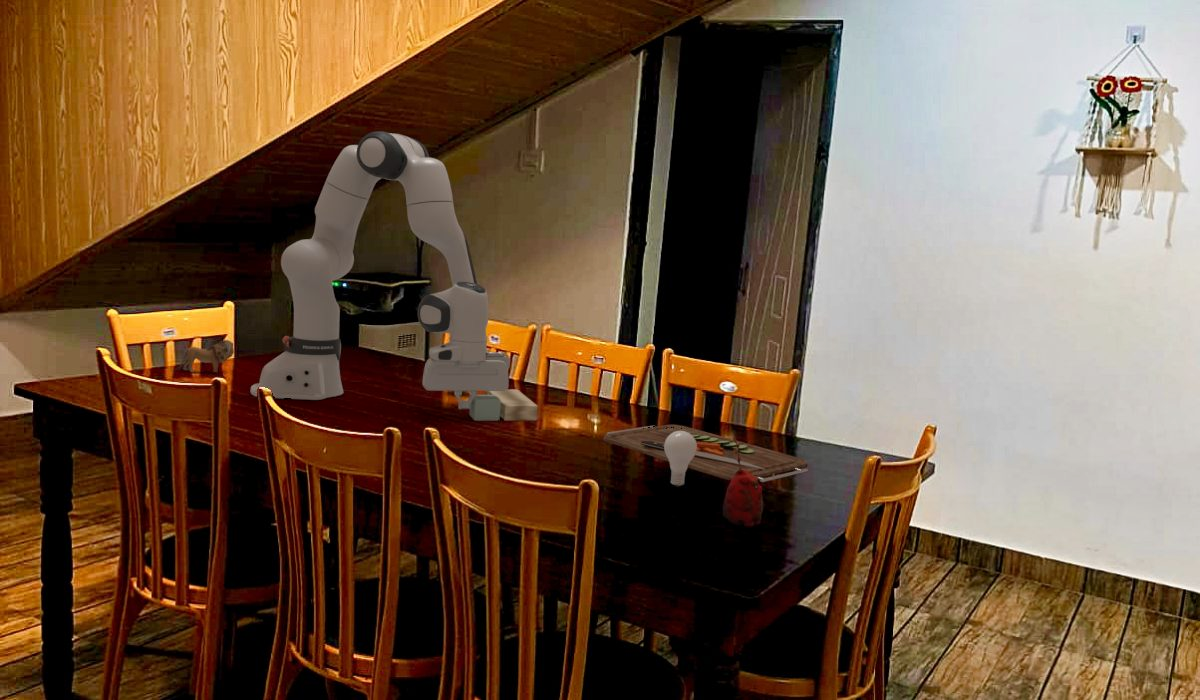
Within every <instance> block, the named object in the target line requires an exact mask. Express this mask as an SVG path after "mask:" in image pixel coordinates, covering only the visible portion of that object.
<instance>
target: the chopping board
mask: <svg viewBox="0 0 1200 700" xmlns="http://www.w3.org/2000/svg"><path fill="white" fill-rule="evenodd" d="M653 426H655V427H653ZM648 427H650V428H648ZM671 427H672V428H671ZM673 427H674V428H673ZM643 428H644V429H643ZM666 428H667V429H666ZM681 428H682V429H681ZM675 431H685V432H688V433H690V434H691V435H692V436H693V437H694V439H695V440H696V443H697V451H696V454H695V456H694V457H693V459H692V460H691V461H690V463H689V464H688V467H687V469H691V470H694V471H698V472H701V473H704V474H707V475H711V476H714V477H717V478H721V479H722V480H723V479H724V480H726V481H727V480H728V481H731V480H732V479H733V477H734V476H735V474H736V472H737V471H738V470H739V463H738V461H737V459H738V450H737V454H735V453H734V448H737V447H736V443H735V441H734V440H733V438H729V437H725V436H721V435H717V434H714V433H711V432H706V431H703V430H699V429H697V428H692V427H688V426H685V425H681V424H665V425H659V426H656V425H649V426H642V427H636V428H635V427H634V428H627V429H621V430H615V431H610V432H609V431H608V432H606V434H604V435H603V441H604V442H605V441H606V442H605V443H608V444H611V445H614V444H615V445H614V446H617V445H618V447H620V446H622V447H621V448H624V449H627V448H628V450H630V449H631V450H630V451H633V450H634V451H633V452H636V451H637V453H640V454H644V455H646V454H647V456H649V455H650V456H649V457H652V456H653V458H657V459H659V460H662V461H666V462H668V463H670V462H669V460H668V458H667V456H666V454H665V451H664V444H665V441H666V439H667V437H668V436H669V435H670V434H671V433H673V432H675ZM736 442H737V443H738V444H741V443H742V442H743V441H740V440H739V441H738V440H736ZM731 445H734V446H731ZM739 457H740V458H742V459H741V460H740V466H741V469H742V470H744V471H749V472H750V473H751V475H753V476H756V477H757V478H758V480H759V482H761V483H765V482H769V481H774V480H777V479H778V480H779V479H782V478H787V477H791V476H795V475H799V474H803V473H808V471H809V469H808V468H805V467H807V465H808V464H807V460H805V459H803V458H800V457H797V456H793V455H790V454H787V453H783V452H779V451H776V450H772V449H768V448H764V447H761V446H758V445H753V444H751V443H750V444H749V443H746V442H743V444H741V445H740V446H739ZM802 468H803V469H802ZM793 470H794V471H793ZM781 473H782V474H781ZM773 475H774V476H773Z"/></svg>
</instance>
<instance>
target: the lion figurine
mask: <svg viewBox="0 0 1200 700" xmlns="http://www.w3.org/2000/svg"><path fill="white" fill-rule="evenodd" d="M183 353H184V354H183V356H182V360H181V363H180V365H178V367H176V368H174V369H175V371H176V370H177V371H179V370H181V369H182V368H183V371H190V373H191V372H195V371H196V370H194V369H193V364H194V362H195V360H198V361H199V362H201V363H204V364H207V363H208V364H209V363H210V364H212V367H213V369H212V370H213V373H214V372H218V370H219V369H218V367H219V364H223V363H225V362H226V361H227V360H229V358H232V357H233V355H234V353H235V350H234V342H232V341H231V340H229V339H224V340H221V341H220V342H218V343H216V344H213V345H212V346H210V347H208V348H206V349H205V348H201V347H196V346H192V347H188V348H187V349H185V351H184V352H183ZM186 358H187V359H186ZM187 366H188V367H187ZM195 373H196V372H195Z"/></svg>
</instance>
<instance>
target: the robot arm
mask: <svg viewBox="0 0 1200 700" xmlns="http://www.w3.org/2000/svg"><path fill="white" fill-rule="evenodd" d="M381 179H385V180H389V181H398V182H399V183H400V184H401V186H403V189H404V192H405V200H406V201H405V202H406V203H405V204H406V211H407V219H408V224H409V226H410V230H411V231H412V233H413V234H414V235H415V236H416V237H417V238H418V239H419V240H420V241H422V242H424V243H427V244H429V245H431V246H432V247H434V248H435V249H437V250H438V251H439V252H441V253H442V255H443V256H444V258H445V259H446V262H447V267H448V270H449V275H450V280H451V284H452V287H450V288H447V289H446V290H442V291H439V292H435V293H430V294H427V295H425V296H423V298H422V299H421V300H420V302H419V304H418V306H417V318H418V319H417V320H418V322H419V324H420V325H421V327H422V329H423V330H425V331H426V332H428V333H431V334H449V339H448V340H449V342H446V343H443V344H439V345H434V346H432V347H430V348H429V351H428V353H429V354H428V355H429V357H430V358H428V359H427V360H426V362H425V365H424V368H423V376H422V386H423V388H424V389H425V390H426V391H429V392H430V391H433V392H434V391H435V392H436V391H438V392H439V391H440V392H442V391H445V392H452V391H454V393H453V394H454V396H455V398H456V399H457V401H458V402H457V403H458V404H457V405H458V410H470V409H471V402H472V401H473V400H474V398H475V397H476V395H477V392H487V391H505V390H506V389H509V371H508V370H509V369H510V366H511V358H510V356H509V355H508V354H506V353H505V352H502V351H498V352H494V351H487V346H488V345H487V344H488V337H487V327H488V324H489V296H488V295H489V294H488V292H487V289H486V288H485V287H484V286H482V285H480V284H478V281H477V277H476V273H475V269H474V264H473V263H474V262H473V259H472V255H471V251H470V246H469V243H468V239H467V236H466V234H465V232H464V230H462V228H461V226H460V225H459V224H460V223H459V222H458V219H457V215H456V212H455V206H454V200H453V199H454V198H453V191H452V187H451V182H450V178H449V174H448V171H447V169H446V166H445V164H444V162H442V161H441V160H439V159H437V158H434V157H430V155H429V152H428V150H427V148H426V147H425V146H424V144H422V142H420V141H418V140H417V139H415V138H412V137H409V136H406V135H403V134H401V133H390V132H387V131H372V132H369V133H368V134H366V135H364V136H363V137H362V138H361V139H360V140H359V142H358V144H350V145H347V146H345V147H344V148H343V149H342V150H341V151H340V153H339V154H338V156H337V158H336V160H335V161H334V163H333V165H332V166H331V169H330V171H329V172H328V175H327V177H326V179H325V182H324V185H323V186H322V190H321V192H320V195H319V197H318V200H317V203H316V205H315V207H314V214H315V223H314V224H315V225H314V232H313V235H312V237H311V238H309V239H307V238H306V239H300V240H297V241H295V242H294V243H292V244H291V245H289V246H287V247H286V248H285V250H284V251H283V253H281V254H282V255H281V257H280V258H281V259H280V266H281V271H282V272H283V274H284V275H285V277H287V280H288V282H289V286H290V291H291V296H292V297H291V298H292V302H293V335H292V336H289V335H285V336H284V337H282V339H281V340H282V343H283V344H284V352H282V353H281V354H279V355H277V357H275V358H273V359H272V360H271V361H269V362H267V363H266V364H265V365H264V366H263V368H262V370H261V373H260V378H259V383H254V384H253V385H251V387H250V394H251V395H252V396H254V397H256V398H258V397H257V389H258V387H265V388H268V389H270V390H271V391H272V393H273V396H274V397H275V398H274V399H284V398H291V399H292V400H310V401H319V400H324V399H327V398H332V397H337V396H341V395H343V394H344V389H343V384H342V380H341V374H340V360H341V354H342V353H341V350H342V342H341V338H340V316H341V315H340V314H341V313H340V312H341V308H340V305H339V303H338V302H337V299H336V297H335V293H334V288H333V281H338V280H339V279H342V278H343V277H344V276H346V275H347V274H348V273H349V272H350V271H351V269H352V268H353V266H354V262H355V257H354V252H353V251H354V246H355V240H356V237H357V231H358V228H359V226H360V221H361V219H362V218H363V214H364V213H365V210H366V207H367V204H368V202H369V201H370V200H369V199H370V197H371V195H372V192H373V190H374V188H375V185H376V183H378V181H380V180H381ZM462 391H466V392H468V394H469V397H468V399H467V400H462V398H461V396H462V395H463V394H462ZM291 399H290V400H291Z"/></svg>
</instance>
